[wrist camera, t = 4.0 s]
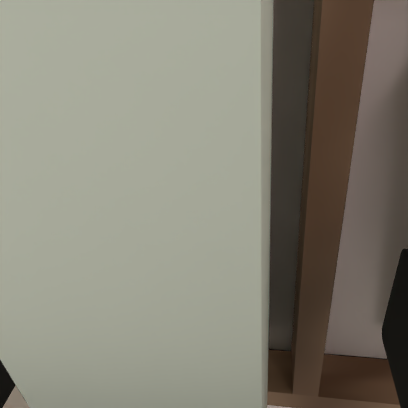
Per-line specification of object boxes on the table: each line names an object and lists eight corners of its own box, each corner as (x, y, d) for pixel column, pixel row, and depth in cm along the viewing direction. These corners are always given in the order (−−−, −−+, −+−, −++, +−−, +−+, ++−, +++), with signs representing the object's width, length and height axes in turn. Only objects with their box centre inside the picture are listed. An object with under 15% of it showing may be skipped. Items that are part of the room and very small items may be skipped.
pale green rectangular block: (274, -64, 9) (260, -73, 2) (268, 325, 17) (262, 621, 10) (152, -52, 10) (-232, -22, 2) (201, 320, 17) (145, 598, 10)
